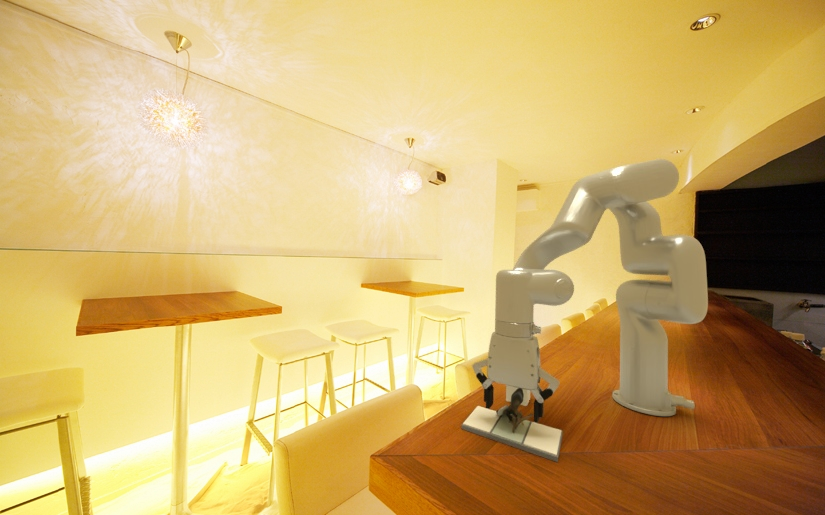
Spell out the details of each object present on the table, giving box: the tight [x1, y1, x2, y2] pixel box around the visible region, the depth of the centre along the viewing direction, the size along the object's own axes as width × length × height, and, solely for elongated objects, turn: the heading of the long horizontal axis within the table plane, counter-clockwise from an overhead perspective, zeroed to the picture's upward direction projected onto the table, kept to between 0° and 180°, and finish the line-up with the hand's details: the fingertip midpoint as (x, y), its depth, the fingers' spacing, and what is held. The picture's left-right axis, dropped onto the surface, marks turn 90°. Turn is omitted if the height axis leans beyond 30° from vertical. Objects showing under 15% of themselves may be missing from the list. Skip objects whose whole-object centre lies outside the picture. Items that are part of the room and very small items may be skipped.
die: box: [505, 385, 531, 407], centre depth 74 cm, size 5×5×5 cm
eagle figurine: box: [495, 388, 534, 433], centre depth 61 cm, size 8×7×9 cm
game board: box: [460, 405, 564, 463], centre depth 60 cm, size 18×10×1 cm, turn 58°
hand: (512, 412), depth 60 cm, fingers open, 9 cm apart
